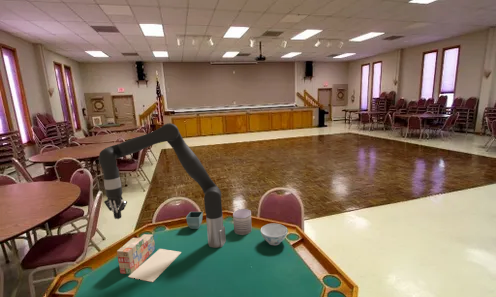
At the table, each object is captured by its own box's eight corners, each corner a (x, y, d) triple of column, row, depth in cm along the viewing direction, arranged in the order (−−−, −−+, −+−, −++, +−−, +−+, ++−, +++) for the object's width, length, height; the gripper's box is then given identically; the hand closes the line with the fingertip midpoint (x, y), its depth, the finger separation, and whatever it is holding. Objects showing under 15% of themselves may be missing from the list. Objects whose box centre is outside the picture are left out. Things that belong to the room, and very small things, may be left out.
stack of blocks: (145, 248, 145) (143, 228, 143) (155, 249, 144) (153, 229, 142) (120, 273, 125) (116, 250, 123) (131, 274, 123) (127, 251, 121)
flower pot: (191, 224, 173) (190, 211, 171) (203, 224, 172) (202, 211, 170) (186, 230, 164) (185, 217, 162) (200, 230, 163) (199, 217, 162)
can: (255, 229, 161) (254, 211, 159) (243, 237, 153) (242, 218, 151) (242, 224, 169) (241, 207, 167) (230, 231, 160) (229, 213, 158)
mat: (181, 252, 140) (181, 252, 140) (152, 282, 117) (152, 281, 117) (159, 249, 144) (159, 248, 144) (128, 277, 122) (128, 276, 121)
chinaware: (285, 234, 153) (284, 222, 152) (289, 248, 138) (289, 235, 137) (260, 236, 153) (259, 224, 151) (262, 250, 138) (261, 237, 137)
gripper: (129, 184, 131) (133, 216, 134) (108, 183, 135) (113, 214, 139) (118, 189, 124) (122, 222, 127) (96, 188, 128) (101, 220, 132)
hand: (117, 218), depth 133 cm, fingers closed
